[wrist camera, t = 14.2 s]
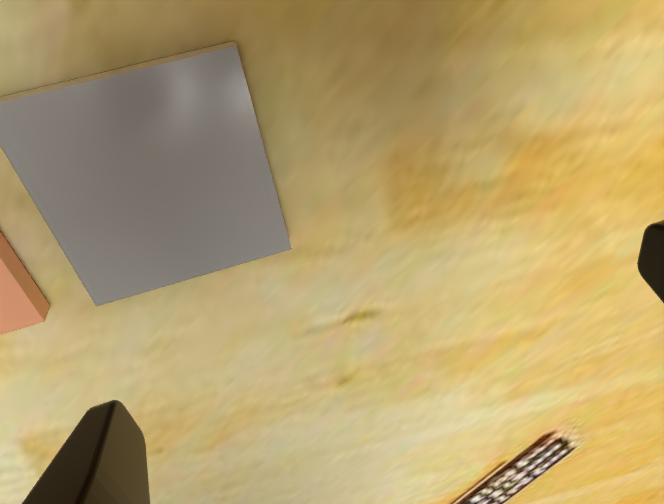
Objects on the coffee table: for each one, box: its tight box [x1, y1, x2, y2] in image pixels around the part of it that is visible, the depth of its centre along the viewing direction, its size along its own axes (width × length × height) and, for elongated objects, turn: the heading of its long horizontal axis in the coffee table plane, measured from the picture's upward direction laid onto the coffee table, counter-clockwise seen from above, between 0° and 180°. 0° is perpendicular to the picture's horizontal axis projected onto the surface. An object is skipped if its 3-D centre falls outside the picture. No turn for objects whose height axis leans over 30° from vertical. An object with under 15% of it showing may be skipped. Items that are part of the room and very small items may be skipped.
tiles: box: [0, 41, 292, 334], centre depth 17 cm, size 8×18×1 cm, turn 101°
